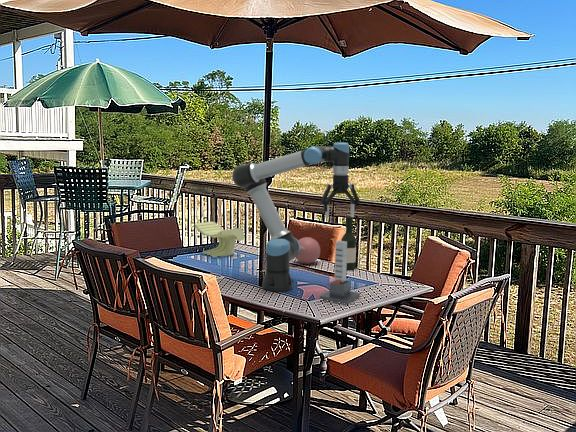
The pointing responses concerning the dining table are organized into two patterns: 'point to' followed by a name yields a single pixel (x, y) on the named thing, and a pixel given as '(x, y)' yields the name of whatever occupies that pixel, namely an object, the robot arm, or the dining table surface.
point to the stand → (340, 293)
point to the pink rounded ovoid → (308, 250)
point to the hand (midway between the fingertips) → (339, 217)
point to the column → (340, 261)
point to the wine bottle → (350, 244)
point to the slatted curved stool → (220, 238)
